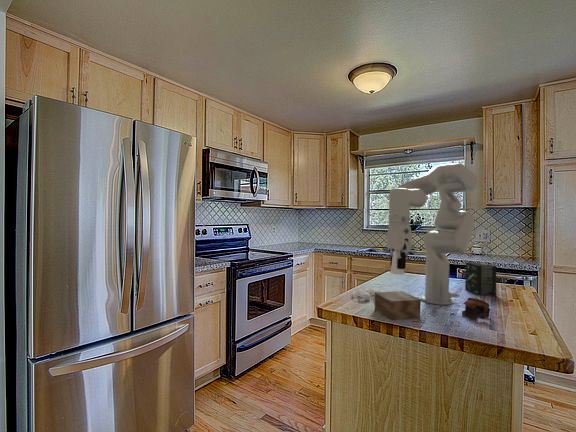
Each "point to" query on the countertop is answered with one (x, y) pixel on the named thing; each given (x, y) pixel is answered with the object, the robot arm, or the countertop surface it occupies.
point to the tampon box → (480, 278)
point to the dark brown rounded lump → (476, 309)
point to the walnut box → (397, 305)
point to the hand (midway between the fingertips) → (397, 267)
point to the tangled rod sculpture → (366, 293)
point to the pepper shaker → (394, 264)
